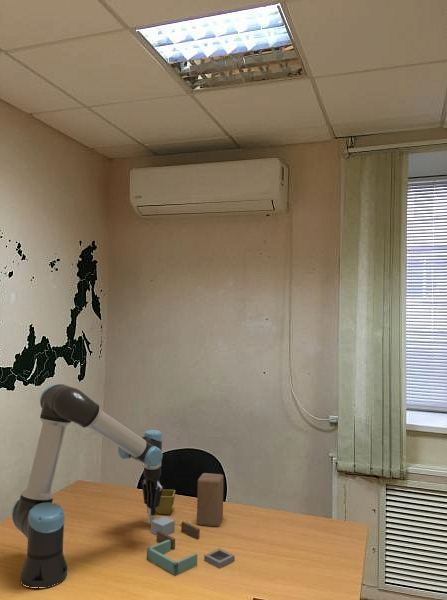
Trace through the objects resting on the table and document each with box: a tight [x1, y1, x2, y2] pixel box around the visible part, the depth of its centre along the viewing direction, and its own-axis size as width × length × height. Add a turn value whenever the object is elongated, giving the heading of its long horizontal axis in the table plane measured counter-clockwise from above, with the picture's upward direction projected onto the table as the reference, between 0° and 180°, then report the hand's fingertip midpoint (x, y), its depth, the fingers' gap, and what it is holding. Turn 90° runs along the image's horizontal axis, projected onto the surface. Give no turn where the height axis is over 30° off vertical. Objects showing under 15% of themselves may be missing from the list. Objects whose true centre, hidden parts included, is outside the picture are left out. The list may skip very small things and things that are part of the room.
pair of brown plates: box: [156, 521, 201, 551], centre depth 197 cm, size 14×10×4 cm
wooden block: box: [196, 472, 224, 528], centre depth 216 cm, size 10×10×20 cm
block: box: [150, 515, 176, 536], centre depth 204 cm, size 7×7×5 cm
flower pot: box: [155, 489, 176, 515], centre depth 226 cm, size 9×9×9 cm
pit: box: [204, 548, 236, 569], centre depth 181 cm, size 8×8×2 cm
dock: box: [146, 540, 198, 577], centre depth 179 cm, size 10×16×4 cm, turn 46°
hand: (151, 522), depth 210 cm, fingers closed
